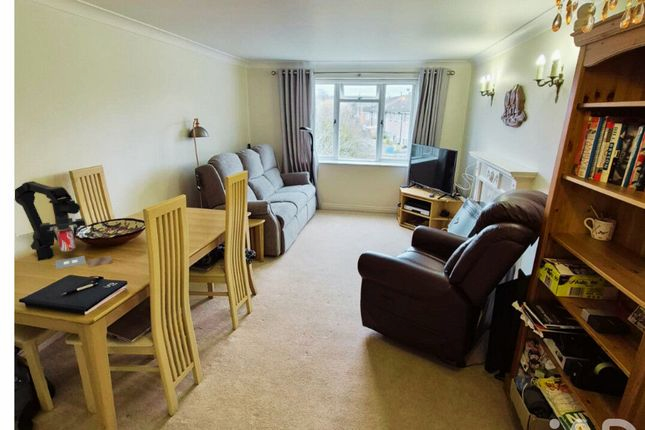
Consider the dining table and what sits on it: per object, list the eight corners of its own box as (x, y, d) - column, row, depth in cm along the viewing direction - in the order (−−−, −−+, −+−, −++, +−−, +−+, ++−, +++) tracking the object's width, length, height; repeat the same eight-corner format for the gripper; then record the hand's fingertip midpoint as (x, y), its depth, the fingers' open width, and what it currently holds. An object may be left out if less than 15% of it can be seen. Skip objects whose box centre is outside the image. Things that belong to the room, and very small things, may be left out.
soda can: (67, 252, 179) (63, 231, 176) (56, 251, 181) (52, 229, 177) (79, 247, 186) (75, 226, 183) (68, 246, 187) (64, 225, 184)
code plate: (55, 269, 177) (55, 268, 177) (55, 261, 186) (55, 260, 186) (85, 263, 185) (85, 263, 185) (84, 256, 194) (84, 255, 194)
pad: (88, 267, 180) (88, 266, 180) (87, 260, 189) (87, 259, 189) (113, 262, 187) (113, 262, 186) (110, 255, 195) (110, 255, 195)
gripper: (36, 218, 166) (43, 248, 170) (83, 212, 177) (88, 241, 181) (37, 212, 174) (43, 241, 179) (82, 207, 185) (86, 235, 190)
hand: (66, 240), depth 182 cm, fingers closed on soda can, 7 cm apart
